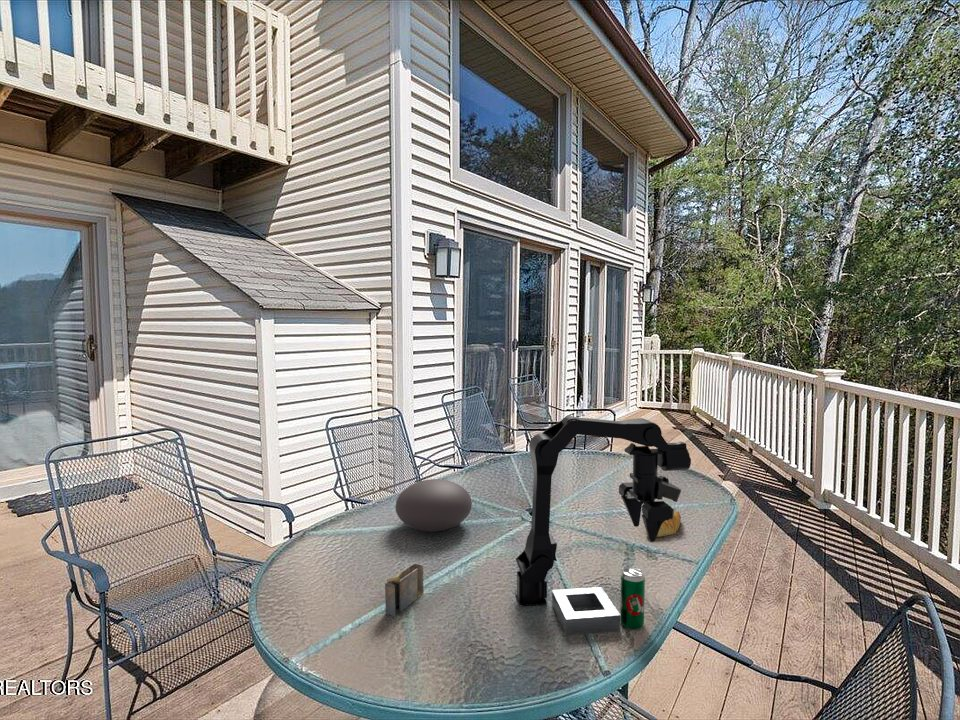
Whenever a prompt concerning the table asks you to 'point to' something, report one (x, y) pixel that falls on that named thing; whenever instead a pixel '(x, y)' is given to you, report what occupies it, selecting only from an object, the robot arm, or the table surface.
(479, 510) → the table surface
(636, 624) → the soda can
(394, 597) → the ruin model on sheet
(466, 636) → the table surface
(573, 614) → the sleeve block
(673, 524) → the croissant
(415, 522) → the smooth stone
